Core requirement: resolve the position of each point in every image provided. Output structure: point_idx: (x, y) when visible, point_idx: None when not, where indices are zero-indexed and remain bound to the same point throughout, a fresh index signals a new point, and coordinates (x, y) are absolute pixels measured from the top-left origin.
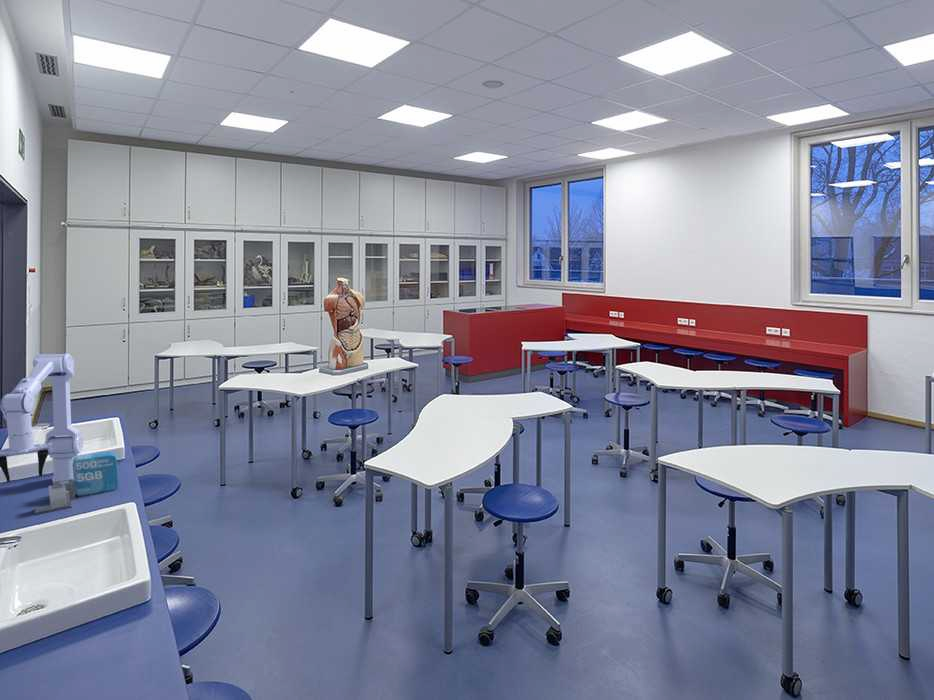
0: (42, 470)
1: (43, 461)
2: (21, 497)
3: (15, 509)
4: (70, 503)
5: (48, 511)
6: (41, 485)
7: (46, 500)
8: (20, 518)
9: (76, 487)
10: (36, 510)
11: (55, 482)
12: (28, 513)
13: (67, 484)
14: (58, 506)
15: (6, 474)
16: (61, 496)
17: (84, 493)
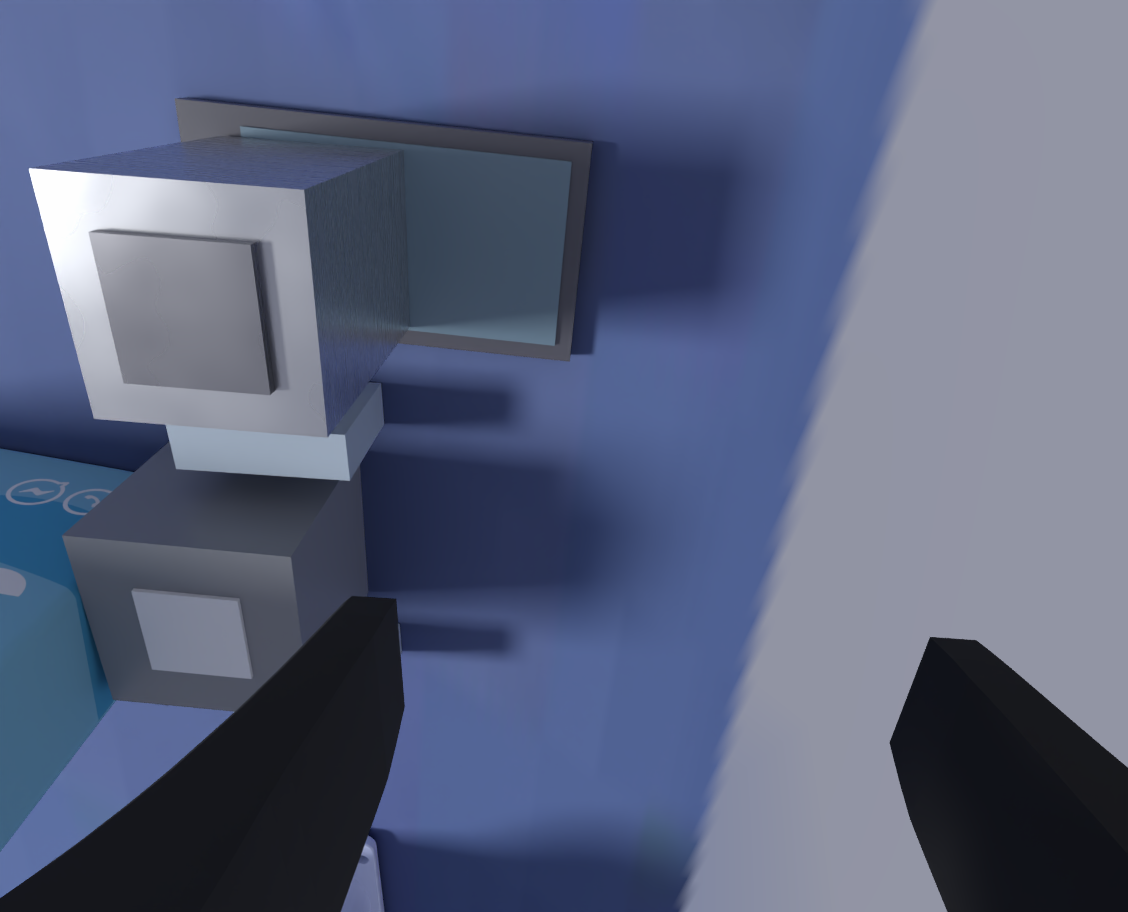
0: (275, 673)
1: (44, 900)
2: (621, 753)
3: (724, 490)
4: None
5: (440, 128)
6: (461, 895)
7: (445, 554)
8: (751, 122)
9: None
10: (561, 235)
11: None
12: (643, 257)
13: (143, 541)
14: (314, 145)
15: (1107, 770)
16: (203, 156)
17: (85, 473)
